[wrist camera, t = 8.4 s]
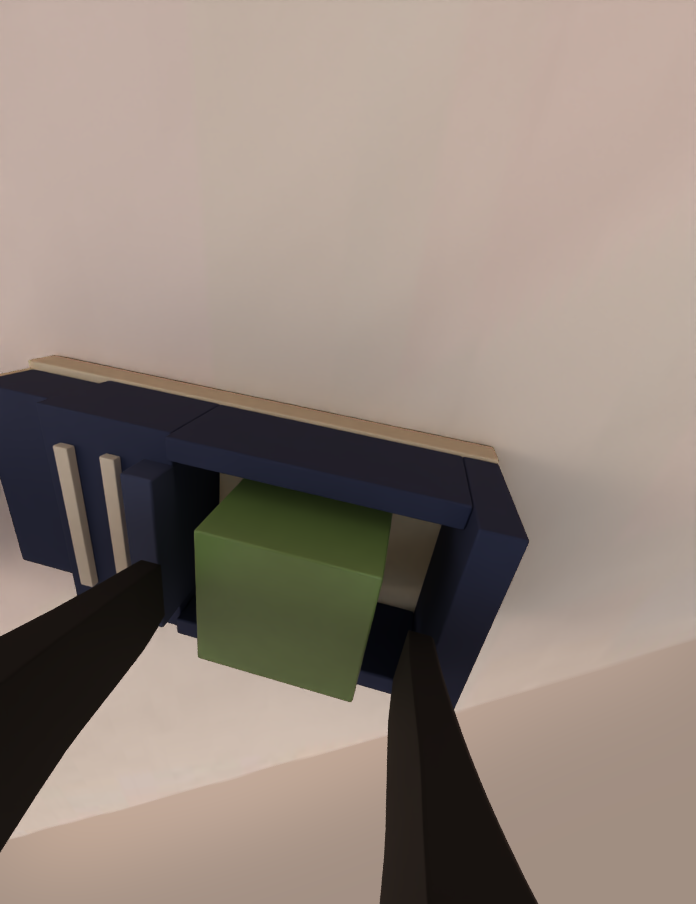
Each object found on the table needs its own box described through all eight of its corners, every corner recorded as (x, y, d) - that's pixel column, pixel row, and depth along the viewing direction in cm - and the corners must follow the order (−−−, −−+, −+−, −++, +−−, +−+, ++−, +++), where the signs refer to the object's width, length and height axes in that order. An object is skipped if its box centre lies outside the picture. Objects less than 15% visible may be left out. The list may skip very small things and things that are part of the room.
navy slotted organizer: (494, 447, 14) (532, 538, 9) (436, 611, 17) (440, 741, 12) (54, 354, 16) (-118, 386, 11) (84, 519, 19) (-34, 600, 14)
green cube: (373, 584, 16) (351, 703, 11) (260, 555, 16) (197, 658, 12) (397, 482, 14) (383, 578, 9) (266, 452, 14) (192, 530, 10)
